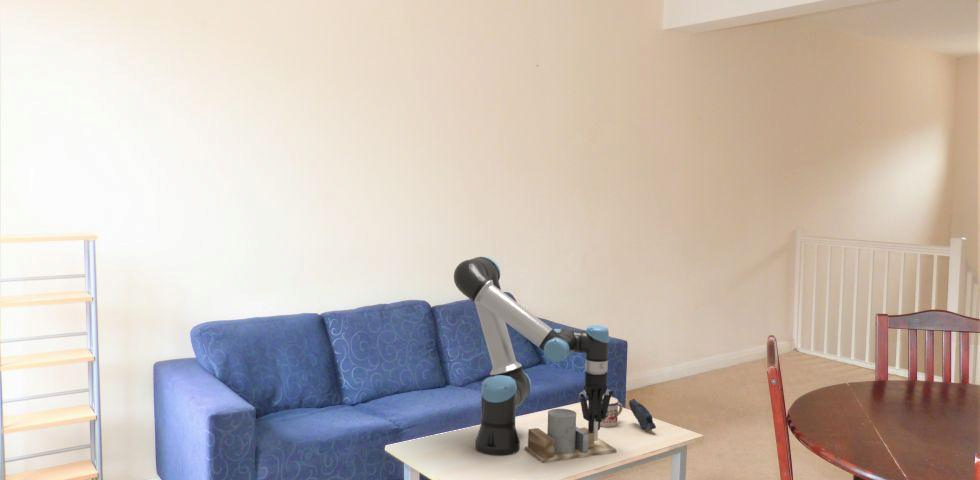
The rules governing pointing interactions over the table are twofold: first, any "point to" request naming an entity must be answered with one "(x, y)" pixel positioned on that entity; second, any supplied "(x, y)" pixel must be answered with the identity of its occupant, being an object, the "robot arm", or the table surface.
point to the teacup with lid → (611, 413)
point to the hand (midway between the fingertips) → (593, 439)
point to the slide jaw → (584, 439)
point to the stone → (642, 415)
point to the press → (544, 447)
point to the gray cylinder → (562, 430)
